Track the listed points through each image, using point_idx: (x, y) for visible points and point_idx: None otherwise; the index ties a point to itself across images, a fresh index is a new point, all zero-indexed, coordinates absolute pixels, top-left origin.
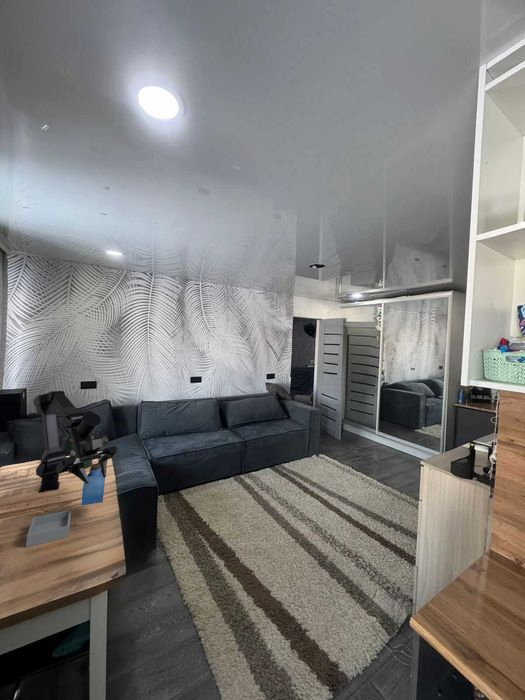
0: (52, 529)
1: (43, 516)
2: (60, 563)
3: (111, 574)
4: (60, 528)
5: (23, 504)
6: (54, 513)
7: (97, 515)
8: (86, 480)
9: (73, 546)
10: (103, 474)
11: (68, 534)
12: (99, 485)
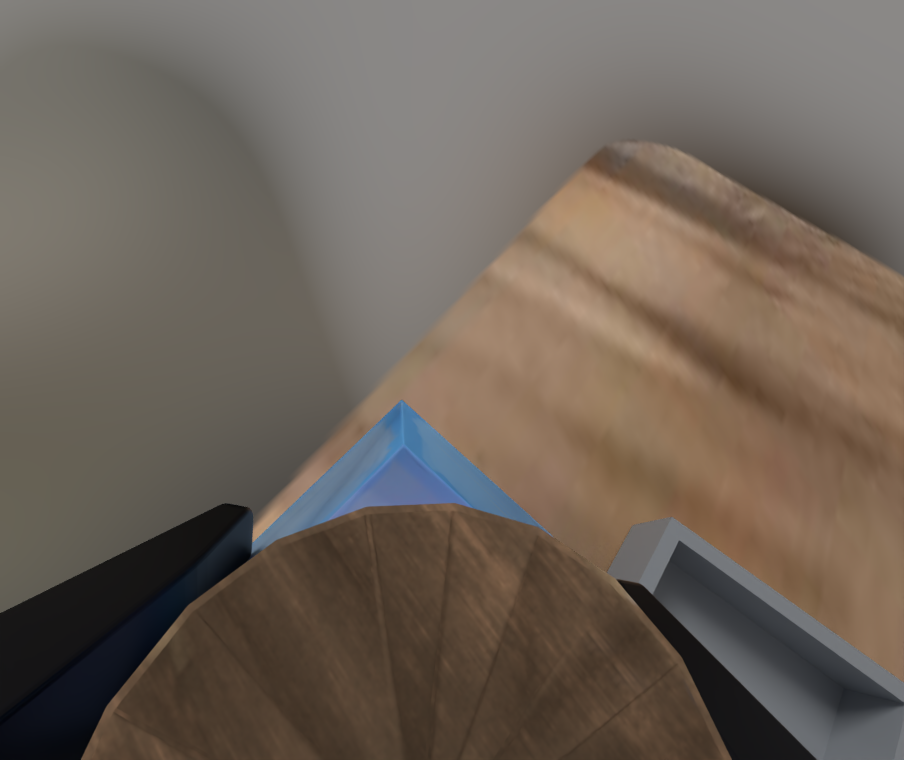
0: (769, 600)
1: None
2: (747, 362)
3: (644, 148)
4: (724, 554)
5: None
6: None
7: None
8: (680, 627)
9: (655, 416)
10: (215, 584)
11: (643, 523)
12: (453, 447)
